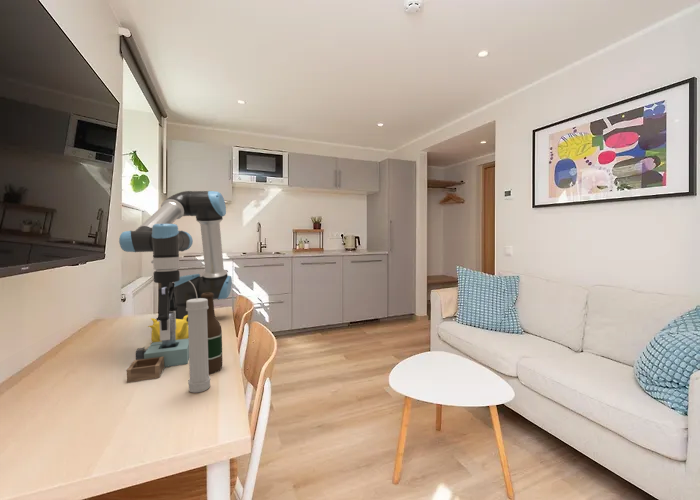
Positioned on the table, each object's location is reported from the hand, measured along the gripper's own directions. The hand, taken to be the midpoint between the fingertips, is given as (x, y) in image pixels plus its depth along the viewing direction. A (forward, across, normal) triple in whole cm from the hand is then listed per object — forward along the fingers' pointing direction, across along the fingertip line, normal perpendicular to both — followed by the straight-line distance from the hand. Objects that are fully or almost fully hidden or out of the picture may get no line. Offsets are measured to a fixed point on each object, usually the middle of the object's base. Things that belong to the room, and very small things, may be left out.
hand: (168, 334), depth 106 cm
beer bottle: (+9, +14, +13) cm, 21 cm away
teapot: (+9, -23, -3) cm, 25 cm away
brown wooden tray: (+9, +10, -4) cm, 14 cm away
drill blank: (+9, 0, 0) cm, 9 cm away
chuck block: (+9, 0, 0) cm, 9 cm away
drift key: (+9, -4, -5) cm, 11 cm away
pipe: (+9, +27, +11) cm, 30 cm away
